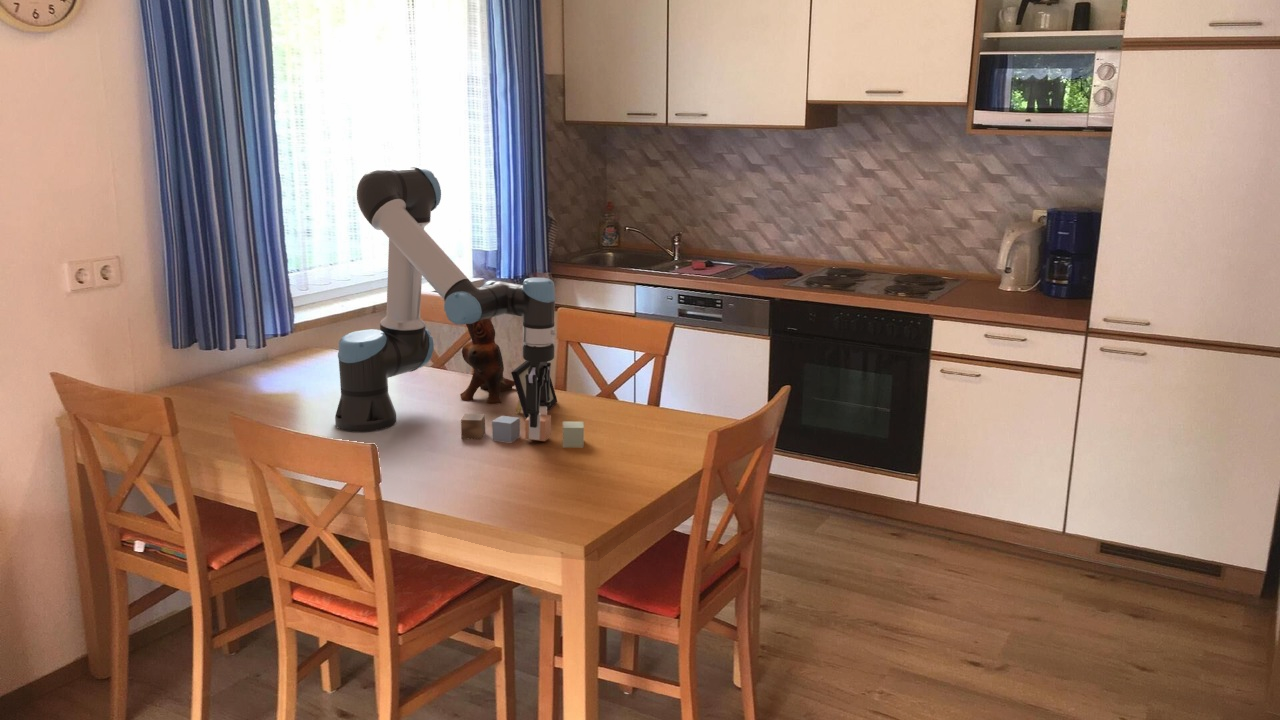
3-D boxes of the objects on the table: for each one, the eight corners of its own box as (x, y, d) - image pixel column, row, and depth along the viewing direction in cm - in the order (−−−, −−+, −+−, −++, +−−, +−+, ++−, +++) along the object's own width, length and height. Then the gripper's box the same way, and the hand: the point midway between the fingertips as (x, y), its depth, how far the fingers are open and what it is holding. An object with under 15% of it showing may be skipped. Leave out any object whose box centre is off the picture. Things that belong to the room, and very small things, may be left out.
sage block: (562, 447, 241) (562, 427, 239) (562, 440, 245) (562, 421, 244) (583, 447, 241) (583, 427, 240) (583, 440, 246) (583, 421, 244)
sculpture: (440, 396, 281) (437, 291, 274) (485, 382, 296) (483, 282, 289) (490, 407, 271) (487, 298, 264) (533, 392, 286) (532, 289, 279)
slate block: (492, 440, 245) (492, 421, 243) (501, 434, 249) (501, 415, 248) (511, 443, 243) (510, 423, 242) (519, 437, 248) (519, 417, 246)
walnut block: (461, 439, 245) (460, 419, 244) (465, 432, 250) (464, 413, 249) (481, 439, 245) (481, 420, 244) (485, 433, 250) (484, 414, 249)
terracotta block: (525, 439, 243) (525, 419, 241) (531, 432, 247) (531, 413, 246) (545, 441, 242) (545, 421, 240) (550, 434, 247) (550, 415, 245)
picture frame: (532, 427, 254) (525, 370, 251) (499, 428, 256) (491, 372, 253) (557, 402, 276) (551, 350, 273) (527, 403, 278) (520, 351, 275)
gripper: (543, 353, 229) (542, 448, 235) (563, 335, 246) (562, 425, 252) (511, 350, 231) (511, 445, 237) (534, 333, 248) (533, 422, 254)
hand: (537, 435), depth 244 cm, fingers closed on terracotta block, 5 cm apart
